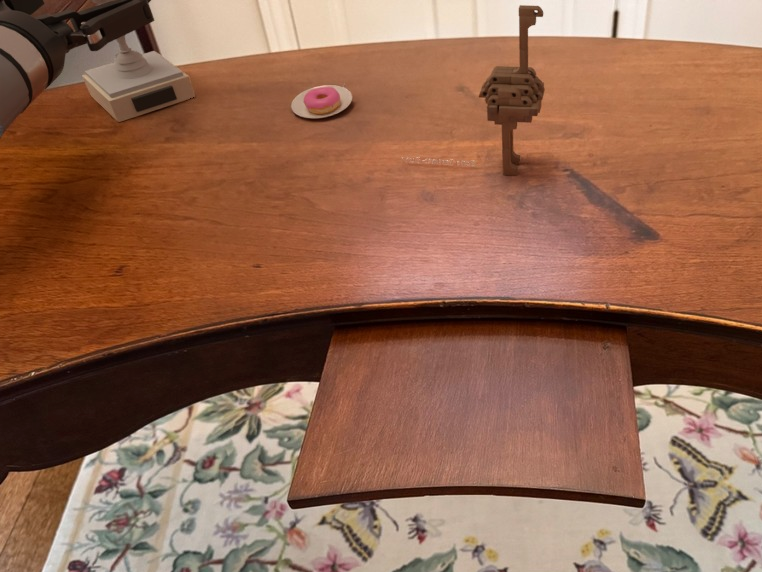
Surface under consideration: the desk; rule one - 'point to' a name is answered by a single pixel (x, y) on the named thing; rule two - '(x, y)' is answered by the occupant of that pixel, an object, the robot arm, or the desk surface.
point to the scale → (139, 88)
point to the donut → (321, 101)
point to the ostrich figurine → (511, 95)
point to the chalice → (128, 58)
